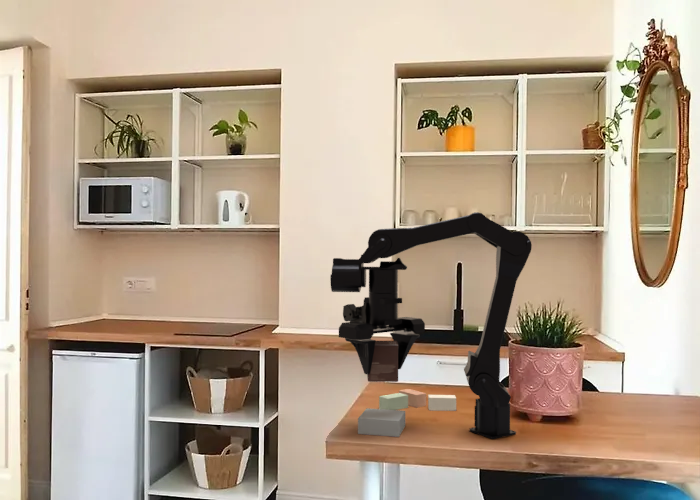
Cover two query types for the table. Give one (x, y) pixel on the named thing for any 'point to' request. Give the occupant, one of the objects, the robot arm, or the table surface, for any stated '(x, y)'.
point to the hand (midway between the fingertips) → (382, 371)
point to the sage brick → (393, 401)
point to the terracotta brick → (415, 397)
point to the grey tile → (381, 422)
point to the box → (384, 362)
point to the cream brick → (442, 402)
